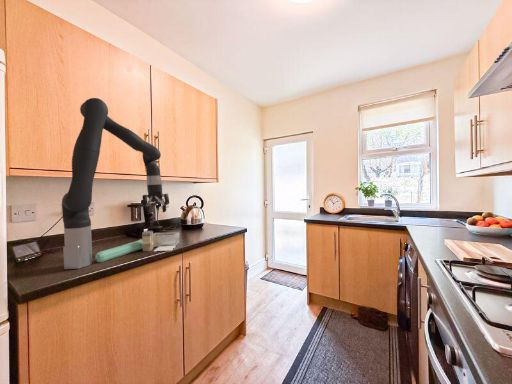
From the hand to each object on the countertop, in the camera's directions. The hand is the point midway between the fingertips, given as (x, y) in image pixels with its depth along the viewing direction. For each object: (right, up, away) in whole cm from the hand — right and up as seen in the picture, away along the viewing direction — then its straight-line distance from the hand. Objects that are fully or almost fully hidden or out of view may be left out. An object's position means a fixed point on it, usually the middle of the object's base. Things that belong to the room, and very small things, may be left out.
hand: (156, 212), depth 124 cm
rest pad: (+6, -20, -4) cm, 21 cm away
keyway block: (+1, -20, +7) cm, 21 cm away
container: (-12, -21, -12) cm, 27 cm away
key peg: (-3, -20, -5) cm, 21 cm away
